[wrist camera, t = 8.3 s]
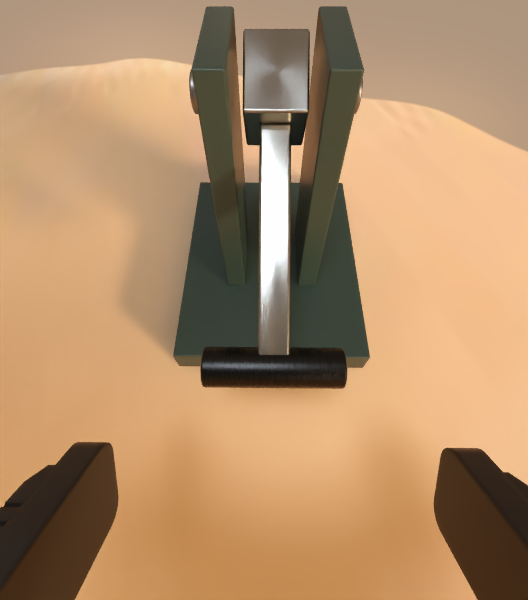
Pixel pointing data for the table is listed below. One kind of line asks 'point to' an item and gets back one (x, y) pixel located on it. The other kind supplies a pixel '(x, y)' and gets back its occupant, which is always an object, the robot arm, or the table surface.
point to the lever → (274, 221)
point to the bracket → (245, 204)
